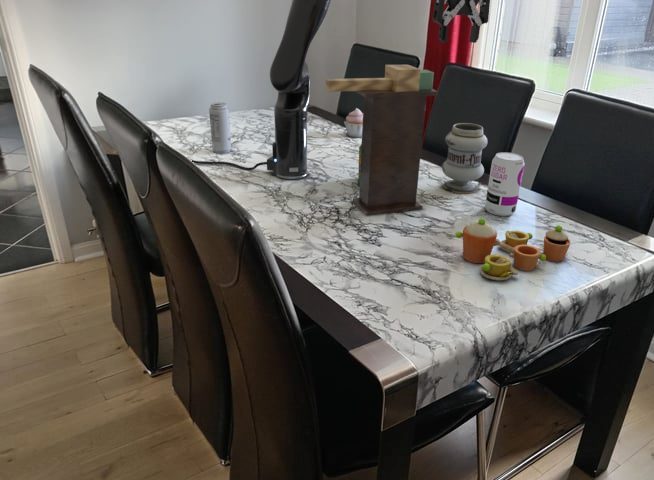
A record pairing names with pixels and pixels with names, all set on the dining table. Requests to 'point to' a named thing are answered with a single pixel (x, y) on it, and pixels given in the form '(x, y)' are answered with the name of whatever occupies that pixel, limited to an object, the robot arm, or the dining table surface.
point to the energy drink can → (220, 127)
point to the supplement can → (504, 183)
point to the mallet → (381, 81)
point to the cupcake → (354, 123)
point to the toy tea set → (509, 249)
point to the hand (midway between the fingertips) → (458, 42)
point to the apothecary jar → (464, 157)
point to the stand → (391, 150)
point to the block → (426, 80)
